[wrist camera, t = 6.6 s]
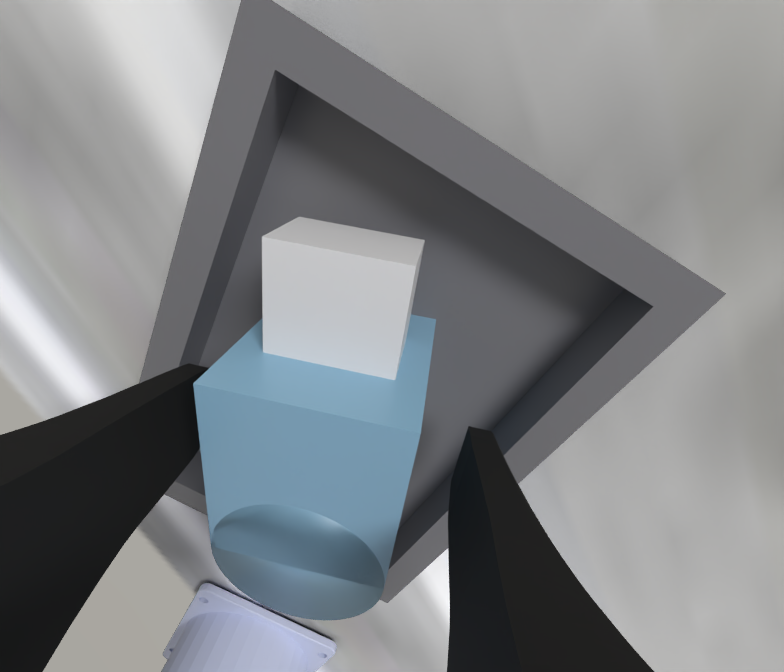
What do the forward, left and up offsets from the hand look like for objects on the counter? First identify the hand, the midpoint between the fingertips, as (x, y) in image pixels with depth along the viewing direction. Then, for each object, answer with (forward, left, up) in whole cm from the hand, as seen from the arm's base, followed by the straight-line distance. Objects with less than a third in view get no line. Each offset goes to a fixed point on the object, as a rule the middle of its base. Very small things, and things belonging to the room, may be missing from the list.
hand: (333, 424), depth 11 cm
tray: (0, 0, -3) cm, 3 cm away
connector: (0, 0, -2) cm, 2 cm away
